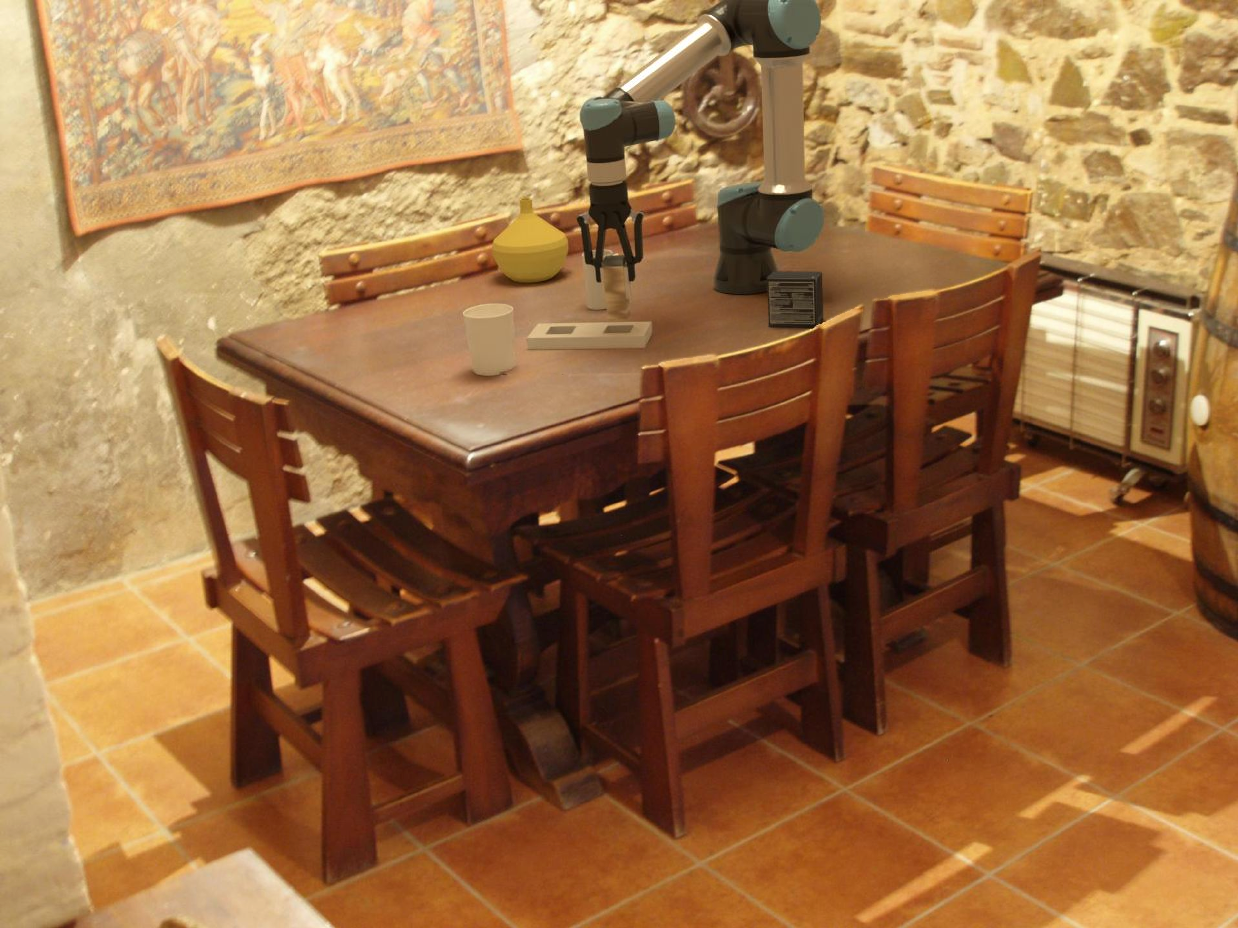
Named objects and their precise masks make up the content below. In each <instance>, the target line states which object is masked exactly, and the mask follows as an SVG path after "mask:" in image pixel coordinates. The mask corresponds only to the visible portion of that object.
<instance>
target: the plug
mask: <svg viewBox="0 0 1238 928" xmlns="http://www.w3.org/2000/svg"><path fill="white" fill-rule="evenodd" d="M625 264H627V263H626V260H625V256H624V254H619V255H614V256H605V258H604V259H603V261H602V266H603V274H604V285H605V296H606V307H607V309H606V316H607V317H606V318H607V320H609V321H610V320H628V319H629V316H630V315H631V304H630V299H626V292H625V280H624V268H623V267H624V266H625Z"/></svg>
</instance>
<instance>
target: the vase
mask: <svg viewBox="0 0 1238 928" xmlns="http://www.w3.org/2000/svg"><path fill="white" fill-rule="evenodd" d="M533 206H534V205H533V199H532V197H523V198H520V199H519V208H520V209H519V214H518V216H517V217H516V218H515V219H514V220H513V221H512V222H511V223H510V224H509V225H508V226H507V227H506V228H505V229H504V230H502V232H501V233H499V235H497V237H495V238H494V239H493V242H492V244H491V250H492V256H493V259H494V260H495V263H496V264H497V266H498V268H499V269H500V272H502V273H503V274H504V275H505V276H506V277H507V278H508V279H510V280H511V281H514V282H516V283H523V284H533V283H540V282H545V281H548V280H550V279H552V278H554V277H555V276H556V275H557V274H558V273H560V271H561V269H562V268H563V266H564V265H565V262H566V259H567V255H568V253H569V240H568V238H567V235H566V233H564V231H563V232H562V231H561V230H559V228H556V227H555V226H553V225H552V224H551V223H549V222H547V221H546V220H545V219H543V218H542V217H540V216H538V215H537V213H536V212H535V211H534V207H533Z"/></svg>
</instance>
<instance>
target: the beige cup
mask: <svg viewBox="0 0 1238 928" xmlns="http://www.w3.org/2000/svg"><path fill="white" fill-rule="evenodd" d="M462 317H463V322H464V327H465V332H466V338H467V339H466V340H467V344H468V350H469V355H470V360H471V367H472V371H473V373H474V374H476V375H477V376H484V377H494V376H502V375H503V373H504V372H507V371H510V370H512V369H514V368H515V367H516V350H515V349H516V347H515V327H514V326H515V325H514V323H515V322H514V307H513V306H512V305H509V304H507V303H506V304H505V303H484V304H480V305H479V304H478V305H475V306H471V307H469V308H466V309H465V310H463V312H462Z"/></svg>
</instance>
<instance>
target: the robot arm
mask: <svg viewBox="0 0 1238 928" xmlns="http://www.w3.org/2000/svg"><path fill="white" fill-rule="evenodd" d="M821 17H822V16H821V11H820V8H819V6H818V3H817V1H816V0H720V1H719V2H717V3H716V4H714V5H713V6H712V7H710V8H708V9H707V11H705V12H703V14H701V15H700V16H699V17H698V18H697V19H696V25H695V26H693V28H691V29H690V30H688V31H686V33H684V35H682V36H681V37H680V38H678V39H677V40H676V41H674V42H673V43H672V44H670V45H669V46H668V47H666V48H665V49H664V50H663V51H661V52H660V53H658V55H656V56H655V57H653V59H651V60H650V61H648V62H647V63H646V64H645V65H643V66H642V67H641V68H639V69H638V70H636V72H634V73H633V74H632V75H630V76H629V77H628V78H626V79H625V80H624V81H623V82H621V83H620V84H619V85H617V86H616V87H615V88H614V89H612V90H611V91H609V92H608V93H607V94H605V95H604V96H603V97H602V96H595V97H590V98H588V99H586V100H585V101H584V102H583V104H582V106H581V108H580V111H579V121H580V123H581V126H582V129H583V130H582V131H583V138H584V139H583V141H584V148H585V158H586V160H585V161H586V171H587V172H586V173H587V181H589V182H590V183H589V185H588V194H589V203H590V204H589V205H590V206H589V208H588V211H587V212H584V213H579V215H578V216H577V217H576V222H577V224H578V225H579V228H580V233H581V241H582V248H583V249H582V250H583V253H584V257H585V263H586V264H587V265H589V264H590V265H593V266H594V267H595V273H596V281H597V283H600V282H601V284H602V295H603V300H606V296H605V285H604V274H603V266H602V261H603V253H604V250H605V242H606V234H607V230H615V231H616V233H617V235H618V239H619V242H620V245H621V249H622V253H623V255H624V256H625V260H626V264H625V266H624V267H623V268H624V280H625V292H626V299H629V300H630V299H631V297H632V295H633V292H632V291H633V290H632V282H634V281H635V280H636V266H635V265H636V264H640V263H641V262H642V261H643V259H644V244H643V243H644V239H643V222H644V221H643V220H644V218H645V211H643V210H640V211H639V210H638V211H637V210H634V209H633V208H632V206H631V205H630V202H629V190H628V183H627V181H626V178H627V170H626V169H627V168H626V155H625V154H626V153H625V148H626V147H627V148H628V147H631V146H636V145H640V144H641V145H642V144H647V143H651V142H659V141H660V140H663V139H667V138H669V137H671V135H672V134H673V133H674V131H675V129H676V115H675V112H674V108H673V107H672V106H671V104H670V103H669V102H668V101H666V100H662V99H664V98H665V97H666V96H668V94H670V93H671V92H672V91H673V90H674V89H677V87H679V86H680V85H681V84H682V83H684V82H686V80H688V79H689V78H691V77H692V76H693V75H694V74H696V73H697V72H699V70H701V69H702V68H703V67H705V66H707V64H709V63H710V62H711V61H713V60H714V59H715V58H716V57H717V56H720V57H724V56H727V55H728V54H729V53H731V52H732V51H734V50H736V49H738V48H740V47H747V46H752V53H753V54H752V55H753V57H752V58H753V59H754V60H755V61H756V62H757V63H758V64H759V65H760V72H761V73H760V75H761V107H762V108H761V110H762V137H763V138H762V141H763V169H764V172H763V174H764V180H763V181H753V182H751V181H750V182H743V183H738V184H734V185H733V184H732V185H728V186H725V187H722V188H721V189H720V190H719V191H718V194H717V205H716V208H717V223H718V238H719V241H718V242H719V257H718V260H717V264H716V268H715V271H714V274H713V289H715V290H716V291H718V292H720V293H725V294H731V295H749V294H750V295H754V294H760V293H761V294H762V293H765V292H767V277H768V276H769V275H770V274H771V273H772V272H773V271H780V270H779V268H778V265H777V262H776V260H775V257H774V254H773V251H772V250H773V249H776V250H780V251H782V252H786V253H787V252H794V253H800V252H804V251H806V250H808V249H809V248H810V247H812V246H813V245H814V244H815V243H816V240H817V239H819V237H820V235H821V233H822V230H823V229H824V225H825V224H824V223H825V213H824V209H823V207H822V205H820V202H818V201H817V200H815V199H814V198H813V185H812V184H811V183H810V182H809V181H808V180H807V179H806V173H805V170H806V167H805V166H806V165H805V163H806V162H805V158H806V157H805V123H804V122H805V118H804V117H805V115H804V113H805V112H804V77H803V76H804V75H803V73H804V72H803V71H804V70H803V69H804V68H803V64H804V62H805V61H806V60H807V58H808V57H809V56H810V54H811V53H810V52H811V51H810V50H811V48H810V46H811V45H813V44H814V43H815V42H816V40H817V39H818V38H817V36H818V35H819V34H820V30H821V25H822V18H821ZM629 217H631V221H632V223H634V224H633V234H634V239H633V240H634V253H633V250H632V246H631V243H630V242H631V241H630V239H629V235H628V232H627V225H626V224H625V223H626V222H627V220H628V219H629ZM590 219H592V220H593V221H594V223H595V224H596V226H597V238H596V239H597V240H596V247H595V250H596V254H595V258H594V257H593V252H592V250H593V245H592V238H591V230H590V222H591V220H590Z"/></svg>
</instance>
